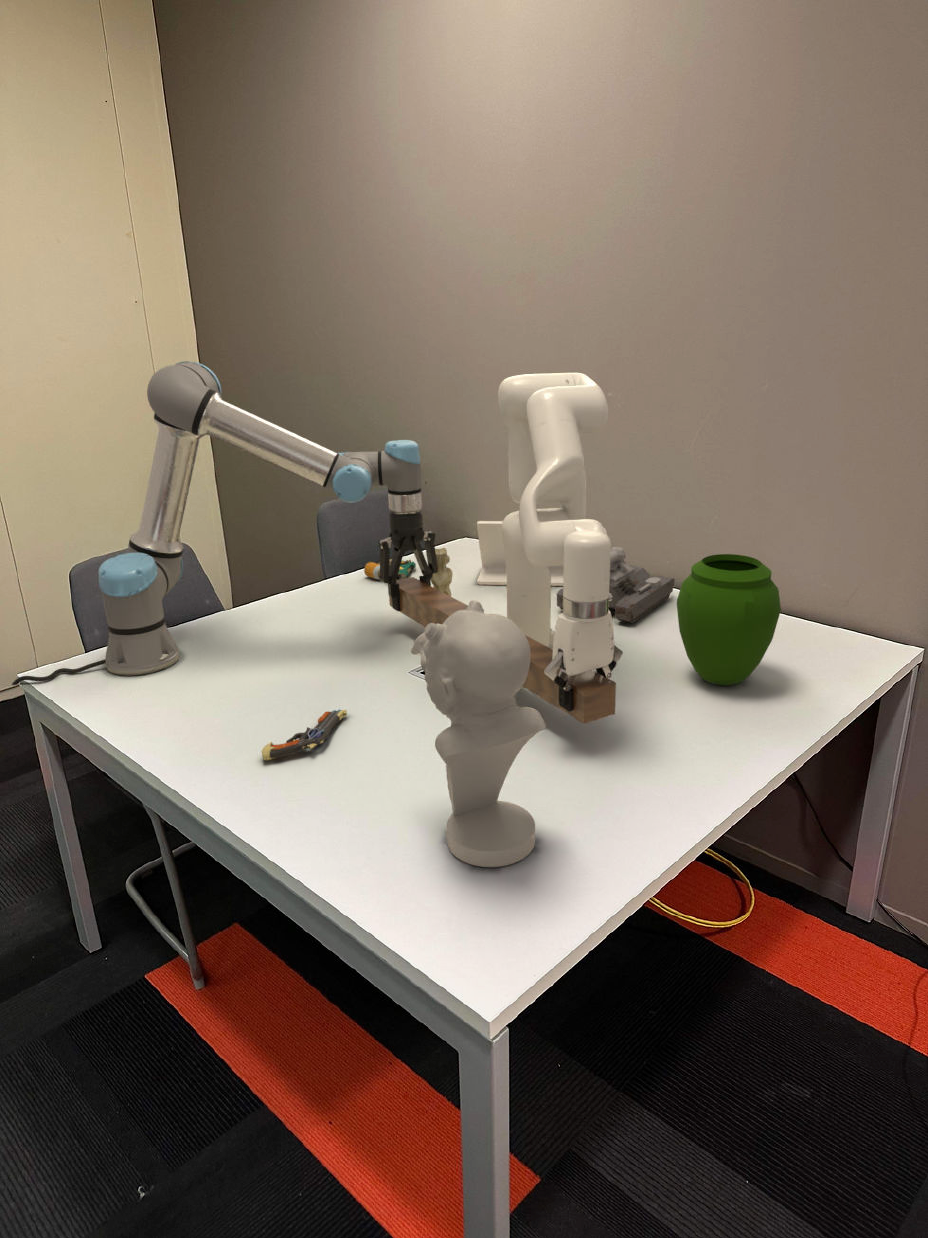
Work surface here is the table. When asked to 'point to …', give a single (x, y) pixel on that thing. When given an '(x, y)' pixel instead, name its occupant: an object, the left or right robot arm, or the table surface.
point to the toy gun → (305, 737)
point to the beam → (588, 688)
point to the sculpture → (442, 572)
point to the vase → (727, 616)
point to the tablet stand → (501, 556)
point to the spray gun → (374, 569)
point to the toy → (632, 589)
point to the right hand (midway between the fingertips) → (583, 702)
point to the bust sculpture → (481, 729)
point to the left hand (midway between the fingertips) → (410, 606)
